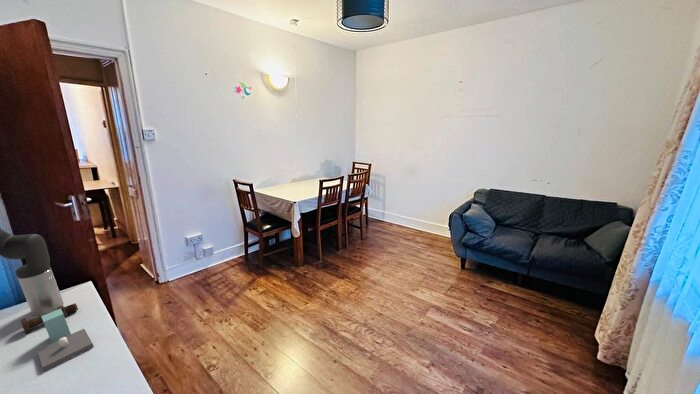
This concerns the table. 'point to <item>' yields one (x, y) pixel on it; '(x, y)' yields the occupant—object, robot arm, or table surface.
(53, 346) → the base plate
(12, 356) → the table surface
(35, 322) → the bolt
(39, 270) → the robot arm
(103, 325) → the table surface
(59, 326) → the block
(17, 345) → the table surface
